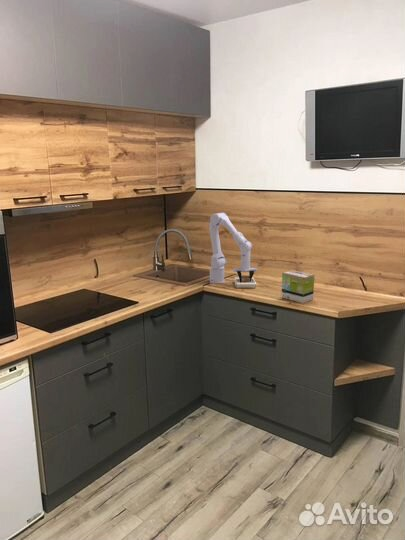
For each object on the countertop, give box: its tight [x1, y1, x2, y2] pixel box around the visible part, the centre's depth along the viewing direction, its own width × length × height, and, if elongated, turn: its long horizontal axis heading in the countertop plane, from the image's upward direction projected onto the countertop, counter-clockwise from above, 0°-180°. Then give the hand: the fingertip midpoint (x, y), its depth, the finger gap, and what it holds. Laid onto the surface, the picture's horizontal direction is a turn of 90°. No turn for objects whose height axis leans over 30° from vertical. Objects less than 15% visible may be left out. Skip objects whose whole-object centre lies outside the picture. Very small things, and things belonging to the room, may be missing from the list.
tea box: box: [281, 269, 315, 304], centre depth 256 cm, size 15×10×15 cm
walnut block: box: [241, 275, 250, 283], centre depth 285 cm, size 5×8×5 cm, turn 1°
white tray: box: [234, 276, 258, 289], centre depth 285 cm, size 12×17×4 cm
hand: (245, 283), depth 285 cm, fingers closed on walnut block, 5 cm apart
